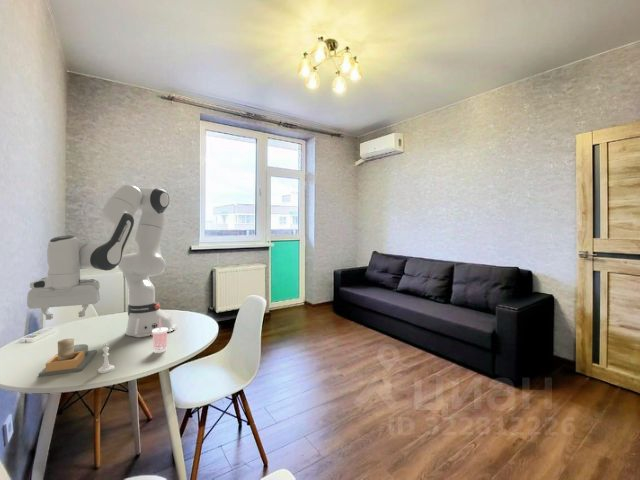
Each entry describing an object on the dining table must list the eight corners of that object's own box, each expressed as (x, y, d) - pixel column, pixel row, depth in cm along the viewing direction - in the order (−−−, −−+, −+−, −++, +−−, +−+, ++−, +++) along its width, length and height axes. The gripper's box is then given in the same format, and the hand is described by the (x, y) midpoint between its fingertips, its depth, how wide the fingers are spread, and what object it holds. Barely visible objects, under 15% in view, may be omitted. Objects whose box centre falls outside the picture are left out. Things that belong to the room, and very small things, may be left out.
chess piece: (103, 367, 108) (103, 340, 108) (117, 366, 108) (117, 340, 108) (94, 373, 103) (93, 345, 103) (109, 373, 104) (108, 345, 103)
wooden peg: (76, 361, 110) (75, 337, 110) (71, 366, 106) (71, 342, 106) (61, 363, 108) (60, 339, 108) (55, 368, 104) (55, 343, 104)
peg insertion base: (96, 352, 121) (96, 342, 121) (81, 370, 105) (81, 359, 105) (60, 356, 116) (60, 346, 116) (38, 376, 100) (38, 365, 100)
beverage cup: (165, 353, 121) (165, 319, 120) (149, 354, 120) (149, 320, 119) (170, 347, 127) (170, 315, 126) (155, 348, 126) (155, 316, 125)
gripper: (101, 277, 113) (102, 312, 114) (33, 280, 105) (34, 318, 106) (96, 280, 107) (97, 317, 108) (23, 284, 99) (25, 323, 100)
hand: (65, 317), depth 107 cm, fingers open, 8 cm apart
